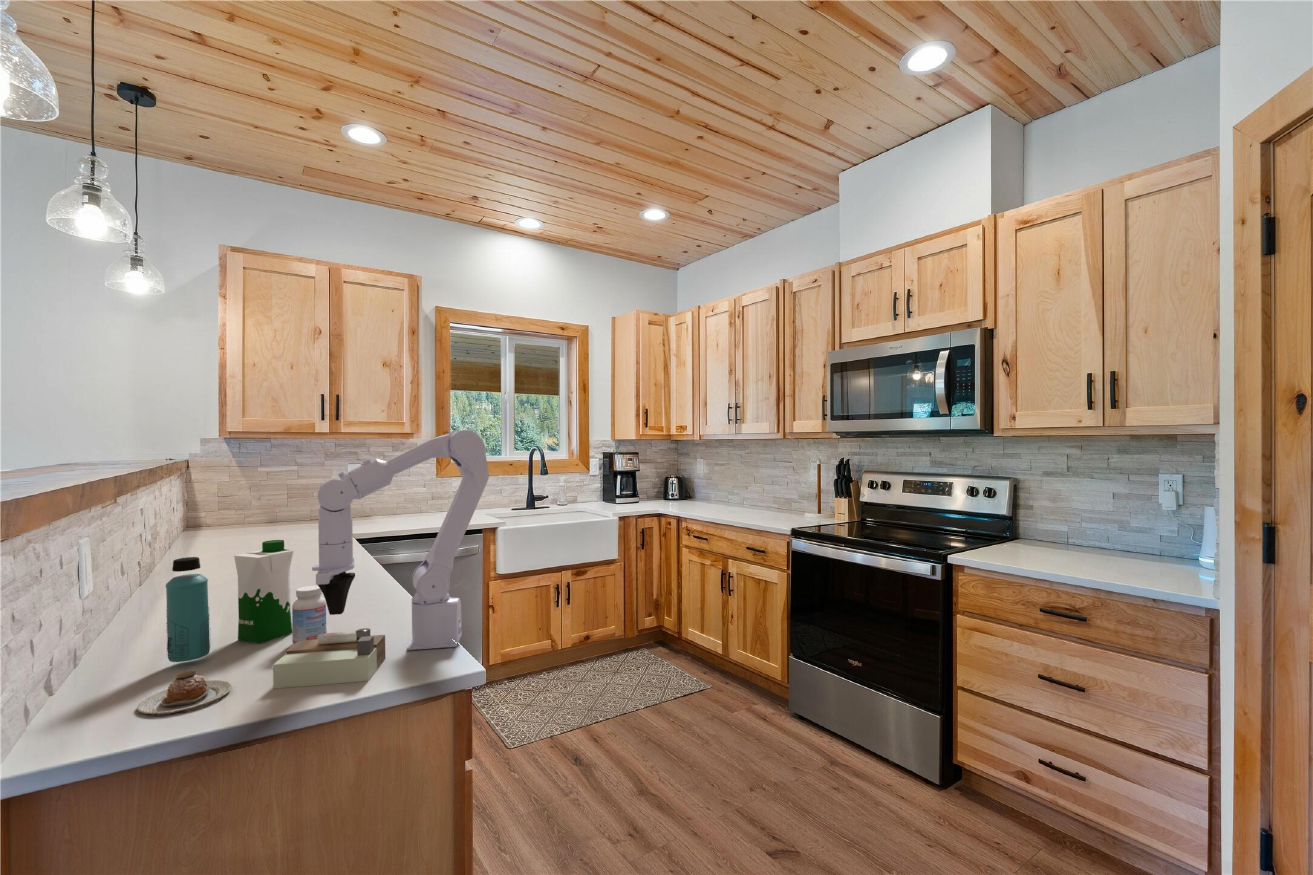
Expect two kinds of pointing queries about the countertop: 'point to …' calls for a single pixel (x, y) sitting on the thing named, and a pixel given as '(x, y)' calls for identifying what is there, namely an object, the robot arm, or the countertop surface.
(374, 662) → the pale green long block
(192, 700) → the pastry
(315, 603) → the pill bottle
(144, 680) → the countertop surface
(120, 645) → the countertop surface
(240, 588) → the milk carton
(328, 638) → the bar
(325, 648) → the block
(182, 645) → the beverage bottle
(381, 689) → the countertop surface
